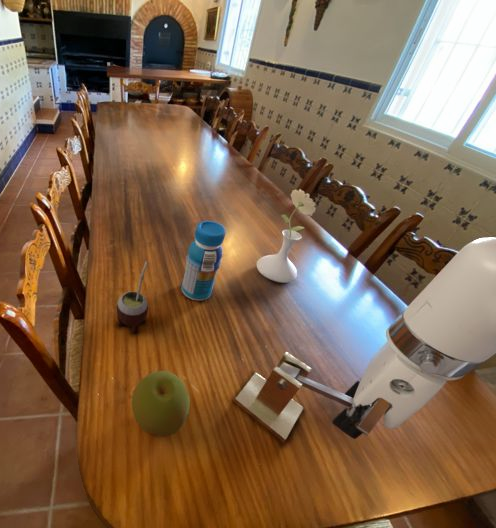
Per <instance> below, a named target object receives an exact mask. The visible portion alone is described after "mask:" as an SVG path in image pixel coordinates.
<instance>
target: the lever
mask: <svg viewBox="0 0 496 528" xmlns="http://www.w3.org/2000/svg"><path fill="white" fill-rule="evenodd" d="M279 368H280V369H281V370H282V371H284V372H285V373H287V374H288V375H290V376H291V377H292V378H294V379H295V380H297V381H298V382H300V383H301V384H302V386H301V387H304V388H306V389H308V390H310V391H312V392H315V393H317V394H319V395H320V396H321V395H322V396H324V397H326V398H328V399H330V400H332V401H334V402H336V403H339V404H341V405H343V406H346V407H347V408H350V407H351V406H352V405H353V404H354V401H353V398H352V397H349V396H347V395H345V393H342V392H340V391H337V390H335V389H333V388H331V387H329V386H326V385H324V384H321V383H320V382H316V381H314V380H312V379H310V378H308V377H303V376H301V375H300V369H298V368H296V367H293V366H291V365H288V364H286V363H284V362H283V363H282V365H281V366H280V367H279ZM356 412H358V413H359V414H361V415H362V416H363V415H364V413H365V412H366V410H364V409H363V408H361V407H360V408H359V409H358V410H357V411H356Z"/></svg>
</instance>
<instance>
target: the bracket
mask: <svg viewBox="0 0 496 528" xmlns="http://www.w3.org/2000/svg"><path fill="white" fill-rule="evenodd" d="M283 362H284V363H286V364H288V365H291V366H293V367H296V368H298V369H300V375H301V376H303V377H305V378H307V376H308V375H309V373H310V372H311V371H312V368H311V367H310V366H308V365H307V364H306V363H304V362H302V361H301V360H299V359H298V358H296V357H295V356H293V355H292V354H291V353H289V352H287V351H285V353H284V354H283V356H282V357H281V359H280V361H279V362H278V364H277V365H275V367H274V368H273V369H272V371H271V373H270V374H269V376H268V377H267V379H266V378H264V377H263V376H262V375H261V374H259V373H257V372H256V371H255V372H254V373H253V375H252V376H251V377H250V379H249V380H248V381H247V383H246V384H245V385H244V386H243V388H241V390H240V392H239V393H238V394H237V396H236V397H235V398H234V400H233V403H235V404H236V405H237V406H239V408H241V409H242V410H243V411H245V412H246V413H247V414H248V415H250V416H251V417H252V418H253V419H254V420H255V421H256V422H258V423H259V424H260V425H261V426H263V427H264V428H265V429H266V430H267V431H269V432H270V433H271V434H272V435H274V436H275V437H276V438H277V439H278V440H279V441H281V442H282V443H285V441H286V440H287V438H288V437H289V435H290V433H291V431H292V430H293V428H294V426H295V424H296V422H297V421H298V419H299V418H300V415H301V413H302V411H303V410H304V407H303V406H302V405H301V404H300V403H298V402H297V401H296V400H294V399H293V398H294V396H295V395H296V394H297V393H298V391H299V390H300V389H301V387H303V386H302V384H301V383H300V382H298V381H297V380H295V379H294V378H292V377H291V376H290V375H288V374H287V373H285V372H284V371H282V370H281V369H280V368H279V367H280V366H281V365H282V363H283Z"/></svg>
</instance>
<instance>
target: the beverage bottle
mask: <svg viewBox="0 0 496 528" xmlns="http://www.w3.org/2000/svg"><path fill="white" fill-rule="evenodd" d="M225 237H226V227H224V226H223V224H221V223H219V222H216V221H213V220H203V221H200V222H198V224H197V225H196V227H195V232H194V239H193V241H192V242H191V243H190V245H189V247H188V252H187V254H186V257H185V269H184V275H183V278H182V282H181V288H180V289H181V292H182V294H183V295H184V296H185V297H186V298H188V299H190V300H192V301H205V300H207V299H209V298H210V297H211V295H212V293H213V288H214V284H215V280H216V277H217V274H218V272H219V269H220V267H221V264H222V258H223V255H224V254H223V252H224V251H223V247H222V244H223V243H224V240H225Z"/></svg>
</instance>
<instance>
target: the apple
mask: <svg viewBox="0 0 496 528" xmlns="http://www.w3.org/2000/svg"><path fill="white" fill-rule="evenodd" d="M190 404H191V397H190V395H189V392H188V390H187V387H186V385H185V382H184V381H183V380H182V379H181V378H180V377H179V376H177V375H176V374H174V373H172V372H170V371H167V370H157V371H153V372H150V373H148V374H147V375H146V376H144V377H143V378H142V379H141V380H139V382H137V384H136V386H135V388H134V389H133V390H132V397H131V410H132V413H133V417H134V419H135V422H136V423H137V424H138V426H139V427H140V428H141V429H142V430H143V431H144V432H146V433H148V434H150V435H152V436H155V437H168V436H172V435H176V434H177V432H178V431H180V429H182V428H183V427H184V424H185V423H186V420H187V418H188V414H189V412H190V408H191V405H190Z"/></svg>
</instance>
